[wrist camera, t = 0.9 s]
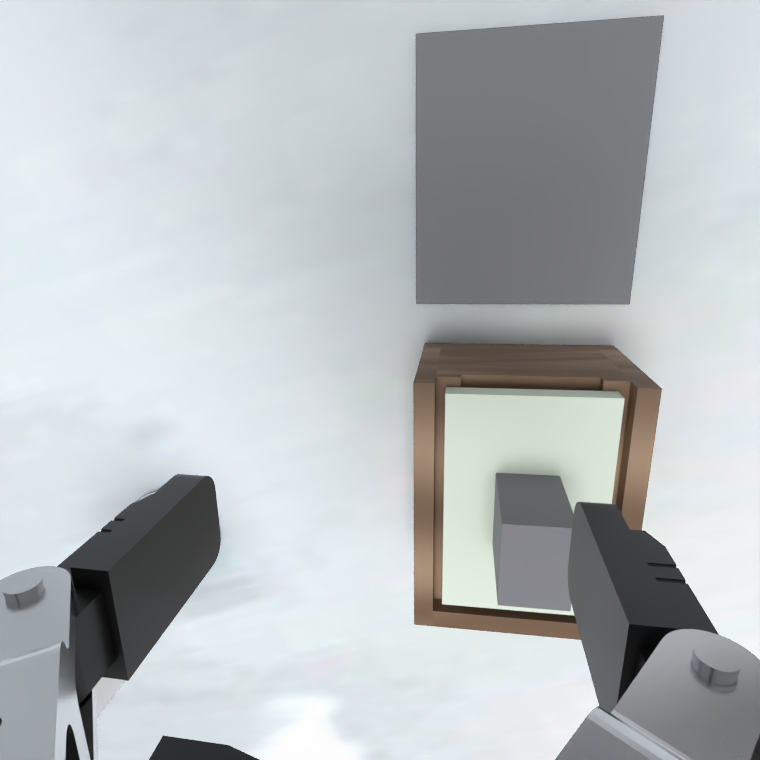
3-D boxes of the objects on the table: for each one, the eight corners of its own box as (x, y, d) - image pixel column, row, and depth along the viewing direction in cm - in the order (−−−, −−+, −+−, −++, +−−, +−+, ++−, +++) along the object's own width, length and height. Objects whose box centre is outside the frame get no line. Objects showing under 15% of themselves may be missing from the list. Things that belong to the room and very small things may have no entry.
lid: (445, 386, 26) (441, 430, 21) (618, 391, 25) (659, 438, 20) (442, 591, 30) (438, 672, 24) (593, 604, 28) (622, 691, 23)
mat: (416, 35, 28) (415, 33, 27) (661, 18, 26) (664, 15, 26) (416, 302, 32) (416, 303, 32) (627, 303, 30) (629, 304, 30)
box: (425, 343, 33) (413, 382, 25) (613, 345, 31) (661, 388, 23) (424, 539, 37) (414, 624, 29) (590, 551, 35) (625, 643, 28)
